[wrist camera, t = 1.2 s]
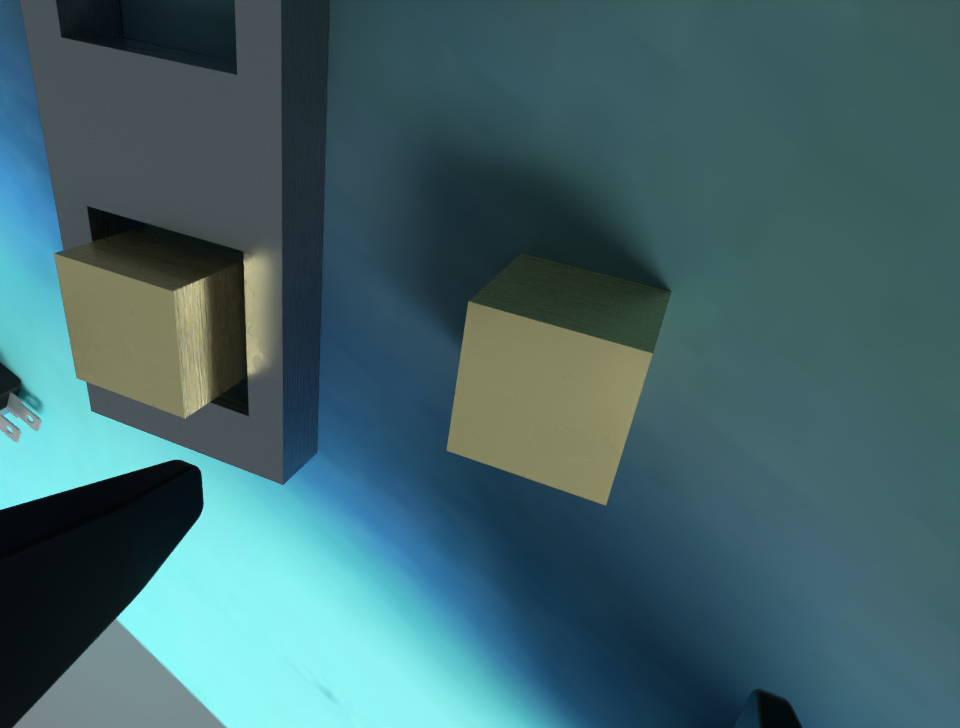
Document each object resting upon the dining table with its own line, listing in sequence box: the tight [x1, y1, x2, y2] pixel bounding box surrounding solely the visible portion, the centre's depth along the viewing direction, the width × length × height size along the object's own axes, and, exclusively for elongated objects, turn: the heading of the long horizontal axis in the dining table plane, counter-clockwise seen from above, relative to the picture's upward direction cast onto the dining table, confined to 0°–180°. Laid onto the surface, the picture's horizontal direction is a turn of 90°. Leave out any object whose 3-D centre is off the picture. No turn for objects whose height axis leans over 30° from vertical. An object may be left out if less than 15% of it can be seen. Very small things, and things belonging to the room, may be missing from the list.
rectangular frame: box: [20, 0, 329, 485], centre depth 18 cm, size 20×8×2 cm, turn 171°
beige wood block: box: [447, 253, 671, 505], centre depth 16 cm, size 4×4×4 cm
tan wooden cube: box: [54, 224, 248, 418], centre depth 20 cm, size 4×4×4 cm
